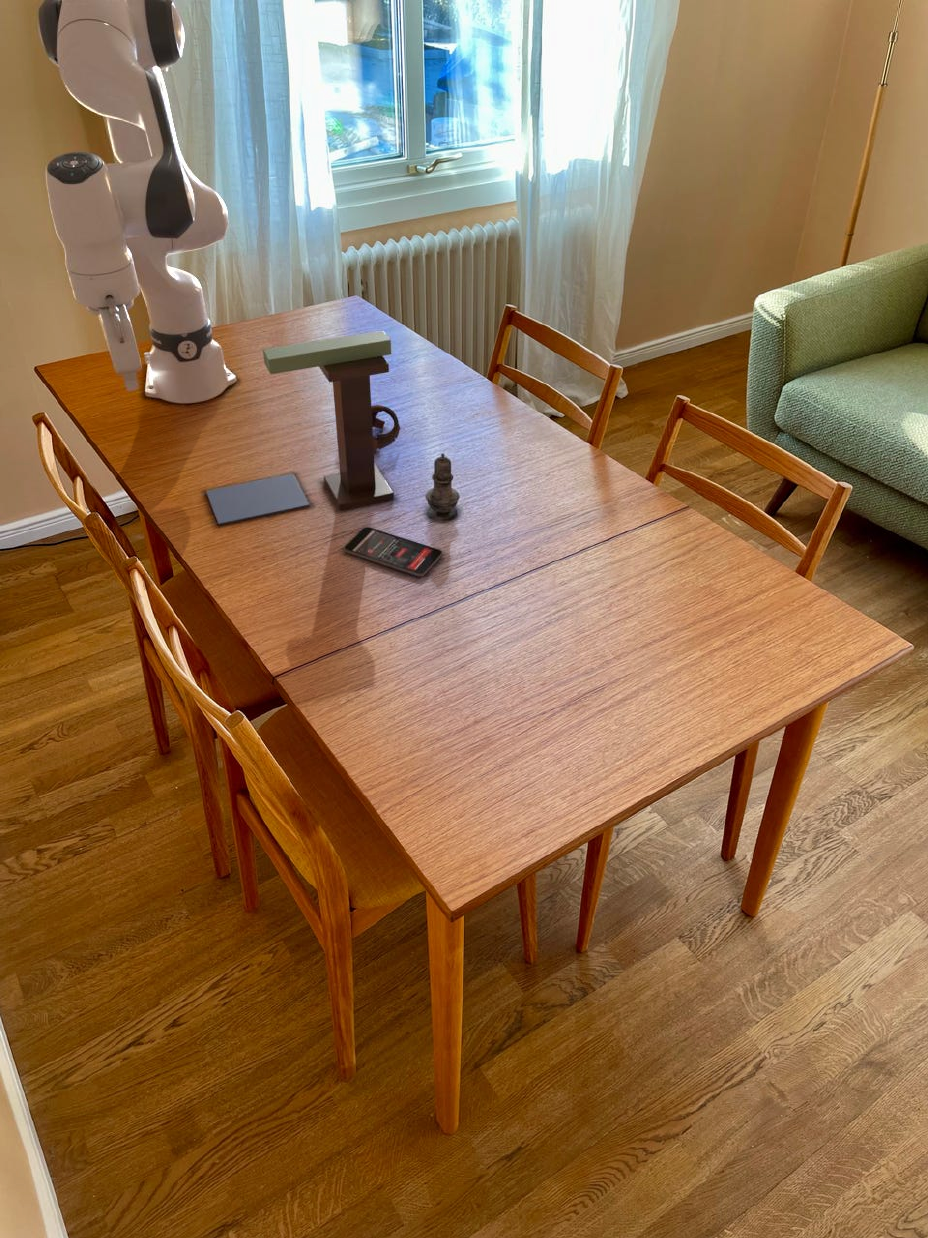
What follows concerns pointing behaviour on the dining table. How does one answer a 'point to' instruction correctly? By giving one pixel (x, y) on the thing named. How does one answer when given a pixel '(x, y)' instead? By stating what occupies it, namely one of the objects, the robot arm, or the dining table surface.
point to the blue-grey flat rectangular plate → (256, 499)
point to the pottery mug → (386, 438)
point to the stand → (355, 435)
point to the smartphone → (393, 551)
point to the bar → (326, 352)
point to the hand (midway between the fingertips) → (127, 373)
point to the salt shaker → (442, 492)
